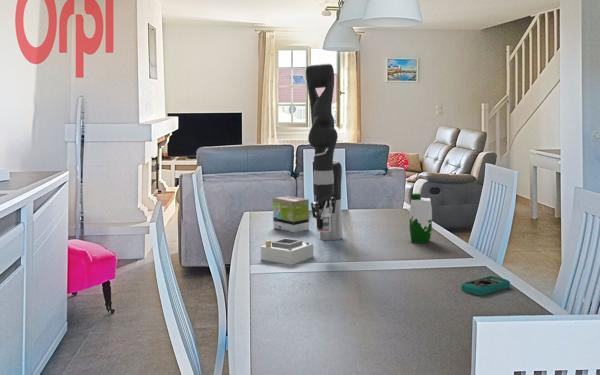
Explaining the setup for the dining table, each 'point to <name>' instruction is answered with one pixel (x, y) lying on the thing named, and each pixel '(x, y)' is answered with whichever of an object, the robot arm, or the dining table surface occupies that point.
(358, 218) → the dining table surface
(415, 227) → the milk carton
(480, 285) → the digital multimeter
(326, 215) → the pill bottle
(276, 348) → the dining table surface
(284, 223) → the tea box
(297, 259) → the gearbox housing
